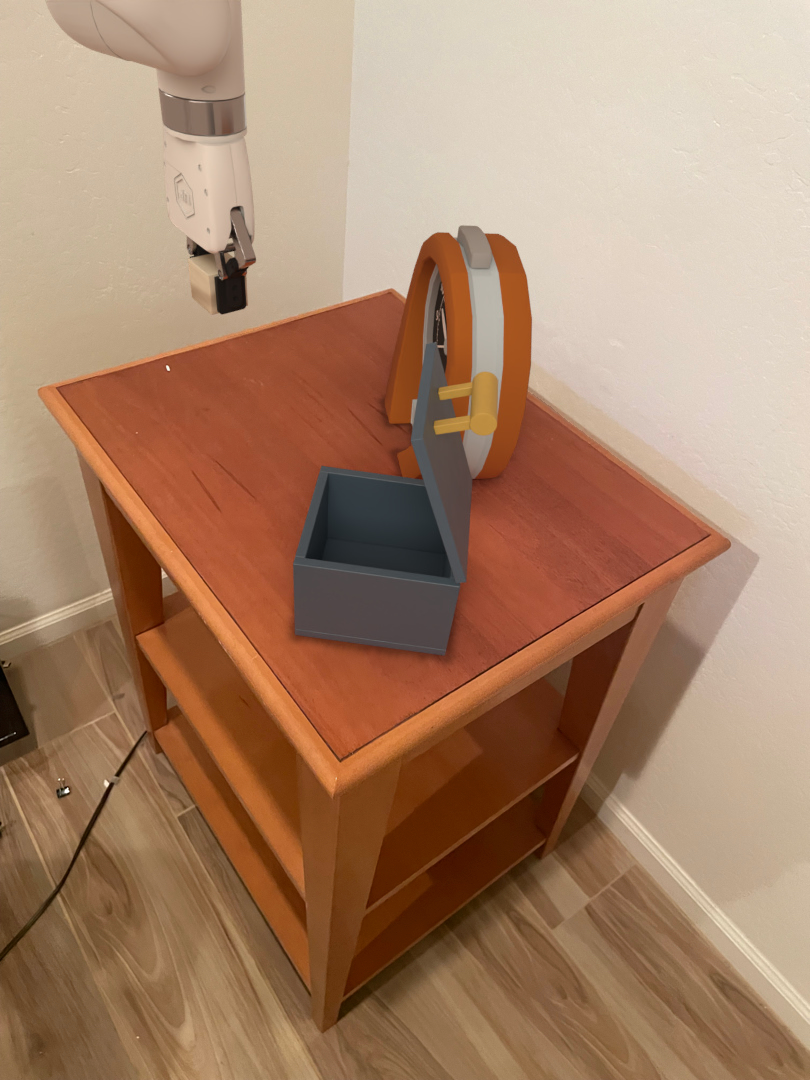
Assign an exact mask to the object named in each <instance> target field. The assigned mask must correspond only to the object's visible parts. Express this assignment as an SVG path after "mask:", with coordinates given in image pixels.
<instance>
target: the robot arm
mask: <svg viewBox="0 0 810 1080" xmlns="http://www.w3.org/2000/svg"><path fill="white" fill-rule="evenodd" d="M44 1H45V4H46V6H47V9H48V11H49V13H50V15H51V17H52V19H53V20H54V21H55V23H56V24H57V25H58V27H59V28H60V29H61V30H62V31H63V32H64V33H65V34H66V36H68V37H69V38H70V39H72V40H73V41H75V42H76V43H77V44H79V45H81V46H83V47H85V48H87V49H89V50H92V51H94V52H97V53H100V54H103V55H107V56H109V57H113V58H117V59H120V60H123V61H126V62H133V63H136V64H139V65H143V66H146V67H150V68H153V69H156V78H157V85H158V97H159V104H160V112H161V120H162V155H163V156H162V157H163V175H164V187H165V197H166V198H165V199H166V209H167V215H168V218H169V220H170V222H171V223H172V225H174V226H175V227H176V228H177V229H178V230H179V231H180V232H181V233H183V234H184V235H185V236H186V251H187V252H188V253H187V254H189V255H190V256H189V258H192V257H197V256H202V255H207V254H211V253H212V254H214V256H215V262H216V267H217V272H218V276H216V277H214V280H215V291H216V303H217V311H218V312H219V313H218V314H220V315H227V314H231V313H234V312H237V311H241V310H245V309H246V307H247V306H246V290H245V275H246V276H247V274H248V269H249V268H250V267H251V266H253V265H254V264H256V262H257V257H256V254H255V251H254V248H253V244H254V240H255V205H254V196H253V195H254V194H253V185H252V177H251V169H250V161H249V153H248V149H247V142H246V138H245V137H246V135H247V134H248V121H247V98H246V82H245V81H246V79H245V58H244V57H245V56H244V37H243V36H244V35H243V33H244V32H243V16H242V15H243V12H242V0H44ZM229 239H231V240H232V242H229ZM232 252H233V255H234V256H233V258H230V259H229V260H228V261H227V263H226V262H225V256H224V253H232Z"/></svg>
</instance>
